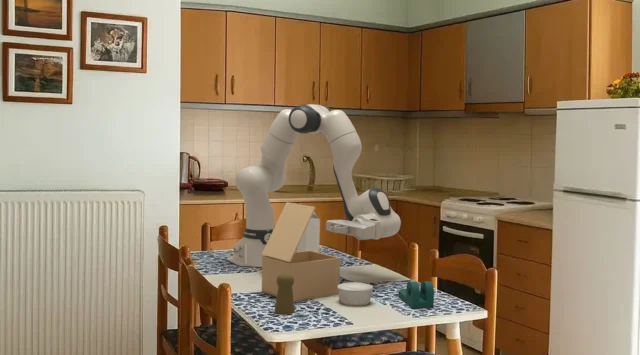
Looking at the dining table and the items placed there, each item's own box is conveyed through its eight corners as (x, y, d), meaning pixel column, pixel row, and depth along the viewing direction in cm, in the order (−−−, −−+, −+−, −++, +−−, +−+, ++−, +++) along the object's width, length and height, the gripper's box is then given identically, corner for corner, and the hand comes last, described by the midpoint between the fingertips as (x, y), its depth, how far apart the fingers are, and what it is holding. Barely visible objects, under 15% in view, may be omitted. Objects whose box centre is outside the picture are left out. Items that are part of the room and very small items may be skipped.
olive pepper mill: (299, 311, 211) (299, 275, 210) (283, 315, 207) (284, 277, 206) (285, 307, 215) (286, 271, 215) (270, 311, 211) (270, 274, 210)
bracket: (433, 309, 219) (434, 283, 218) (412, 309, 218) (413, 284, 217) (415, 295, 237) (416, 271, 236) (395, 295, 236) (396, 272, 235)
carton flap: (262, 254, 234) (261, 254, 233) (287, 202, 238) (286, 202, 238) (290, 262, 222) (289, 261, 222) (315, 207, 227) (314, 206, 226)
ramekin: (334, 305, 220) (335, 289, 219) (338, 297, 231) (339, 281, 230) (371, 308, 218) (371, 291, 218) (373, 299, 229) (374, 283, 229)
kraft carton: (261, 292, 235) (262, 256, 234) (309, 284, 247) (310, 250, 246) (290, 302, 222) (291, 264, 222) (339, 293, 235) (340, 257, 234)
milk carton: (305, 254, 305) (306, 210, 304) (296, 251, 311) (297, 208, 310) (319, 253, 309) (320, 209, 308) (310, 250, 315) (311, 207, 313)
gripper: (343, 214, 258) (313, 217, 250) (383, 221, 242) (352, 224, 234) (343, 232, 259) (313, 235, 250) (382, 240, 243) (352, 243, 234)
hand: (332, 230), depth 242 cm, fingers closed
